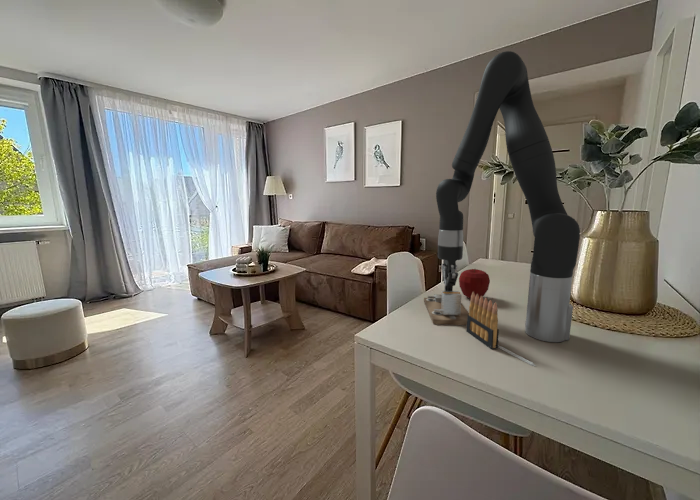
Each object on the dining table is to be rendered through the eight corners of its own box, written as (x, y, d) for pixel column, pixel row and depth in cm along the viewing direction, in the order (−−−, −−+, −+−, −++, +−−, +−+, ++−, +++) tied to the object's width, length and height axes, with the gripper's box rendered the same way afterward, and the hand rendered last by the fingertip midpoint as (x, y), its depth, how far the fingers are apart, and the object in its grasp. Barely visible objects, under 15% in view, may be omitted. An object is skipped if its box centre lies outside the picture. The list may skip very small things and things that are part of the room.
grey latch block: (457, 310, 92) (458, 290, 91) (460, 315, 89) (461, 294, 87) (433, 309, 93) (433, 290, 92) (435, 314, 89) (436, 294, 88)
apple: (459, 292, 117) (461, 264, 115) (488, 295, 112) (490, 266, 110) (456, 300, 107) (457, 270, 106) (488, 304, 103) (490, 272, 101)
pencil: (534, 366, 64) (480, 338, 78) (535, 369, 64) (481, 340, 78) (537, 364, 64) (482, 335, 78) (538, 366, 65) (484, 338, 78)
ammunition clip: (498, 348, 73) (501, 303, 71) (491, 349, 72) (494, 303, 70) (471, 330, 83) (474, 290, 81) (466, 331, 82) (468, 290, 80)
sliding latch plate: (457, 302, 106) (457, 294, 105) (474, 325, 86) (474, 315, 86) (423, 301, 107) (424, 293, 107) (433, 324, 88) (433, 314, 87)
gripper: (468, 247, 84) (465, 303, 87) (457, 241, 97) (455, 290, 100) (442, 247, 85) (440, 303, 88) (434, 241, 98) (432, 290, 101)
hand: (448, 296), depth 94 cm, fingers closed
